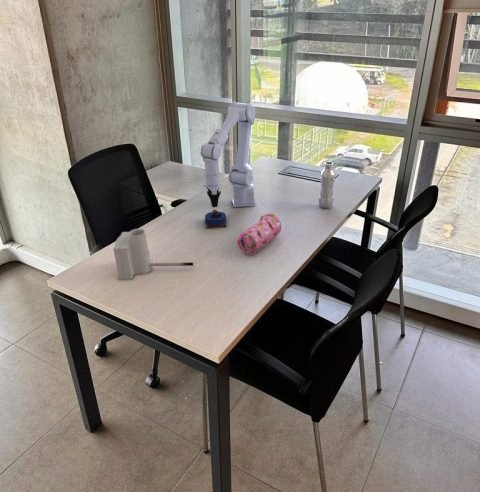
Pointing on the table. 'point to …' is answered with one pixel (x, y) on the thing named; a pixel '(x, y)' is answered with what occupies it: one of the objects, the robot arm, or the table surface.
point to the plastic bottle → (327, 186)
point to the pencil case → (259, 234)
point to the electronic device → (135, 255)
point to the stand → (215, 215)
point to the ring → (215, 221)
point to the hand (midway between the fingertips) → (214, 204)
